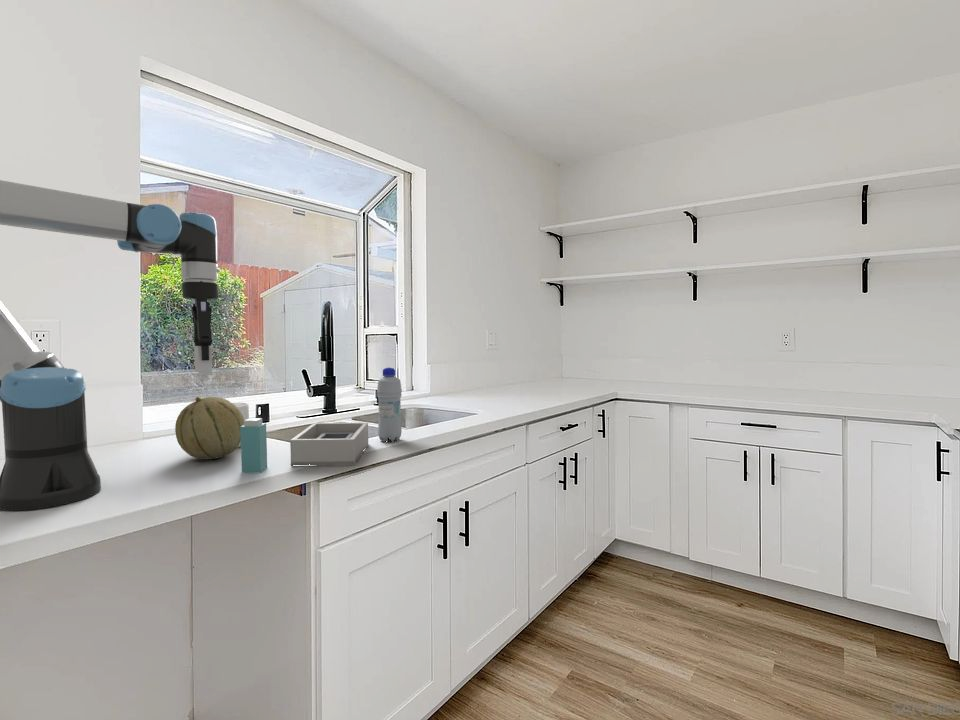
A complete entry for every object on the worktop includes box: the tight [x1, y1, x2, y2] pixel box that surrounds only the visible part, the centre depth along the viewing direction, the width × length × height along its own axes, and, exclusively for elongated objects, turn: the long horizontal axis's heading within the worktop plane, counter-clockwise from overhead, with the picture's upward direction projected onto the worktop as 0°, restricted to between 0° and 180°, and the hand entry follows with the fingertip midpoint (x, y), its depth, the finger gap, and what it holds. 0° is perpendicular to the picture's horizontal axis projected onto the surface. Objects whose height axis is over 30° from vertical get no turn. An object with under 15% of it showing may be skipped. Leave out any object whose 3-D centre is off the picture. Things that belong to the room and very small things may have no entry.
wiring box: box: [289, 422, 369, 467], centre depth 127 cm, size 20×14×6 cm
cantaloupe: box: [174, 396, 244, 460], centre depth 124 cm, size 15×15×15 cm
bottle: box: [376, 367, 403, 442], centre depth 143 cm, size 7×7×20 cm
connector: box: [240, 417, 268, 474], centre depth 114 cm, size 4×4×11 cm
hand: (203, 372), depth 123 cm, fingers open, 13 cm apart
